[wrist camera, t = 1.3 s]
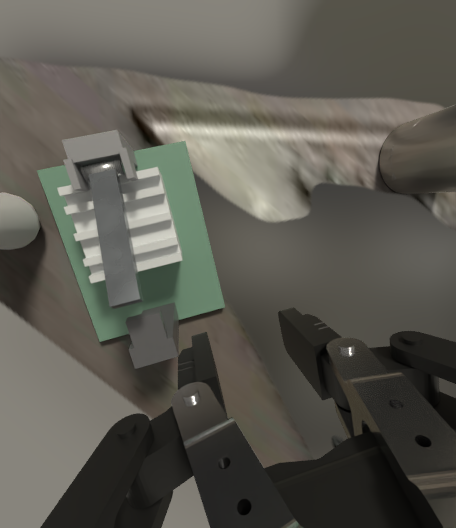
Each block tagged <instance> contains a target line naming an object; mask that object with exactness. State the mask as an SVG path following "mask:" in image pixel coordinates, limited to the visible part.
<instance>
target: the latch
mask: <svg viewBox="0 0 456 528" xmlns="http://www.w3.org/2000/svg"><path fill="white" fill-rule="evenodd" d="M125 323H126V325H127V328H128V331H129V334H130V337H131V340H132V341H131V344H130V347H129V353H130V356H131V358H132V361H133V364H134V367H135V369H137V368H140V367H144V366H147V365H151V364H154V363H158V362H161V361H164V360H168V359H171V358H175V357H178V338H179V316H178V313H177V309H176V306H175V302H174V303H170V304H166V305H162V306H159V307H155V308H151V309H147V310H144V311H142V313H141V314H139V315H135V316H132V317H128V318H127V320H126V322H125Z"/></svg>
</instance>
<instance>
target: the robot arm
mask: <svg viewBox="0 0 456 528" xmlns="http://www.w3.org/2000/svg"><path fill="white" fill-rule="evenodd" d="M380 171H381V175H382V177H383V180H384V181H385V183H386V184H387V186H388V187H390V188H391V189H392V190H393V191H395V192H397V193H401V194H419V193H440V192H456V105H454V106H451V107H448V108H446V109H443V110H440V111H437V112H435V113H432V114H429V115H426V116H424V117H421V118H418V119H416V120H413V121H410V122H407V123H405V124H403V125H400V126H399V127H397V128H396V129H395V130H393V131H392V132H391V134H390V135H389V136H388V137H387V139H386V140H385V142H384V144H383V147H382V150H381V154H380ZM278 316H279V322H280V327H281V332H282V337H283V342H284V345H285V348H286V351H287V353H288V354H289V355H290V357H291V358H292V360H293V361H294V362H295V364H296V365H297V366H298V368H299V369H300V370H301V372H302V373H303V374H304V376H305V377H306V379H307V380H308V381H309V383H310V384H311V385H312V387H313V388H314V389H315V391H316V392H317V393H318V395H319V396H320V397H321V399H322V400H325V399H328V398H331V397H332V398H333V399H334V401H335V408H336V412H337V414H338V417H339V419H340V421H341V424H342V426H343V428H344V430H345V433H346V435H347V437H348V439H346V440H345V441H344V442H342V443H341V444H339V445H338V446H337V447H335V448H334V449H332V450H331V451H330V452H328V453H327V454H325V455H324V456H323V457H321V458H319V459H317V460H308V461H297V462H286V463H278V464H275V465H272V466H269V467H267V468H263V466H262V464H261V463H260V461H259V459H258V458H257V456H256V454H255V453H254V451H253V449H252V448H251V446H250V445H249V443H248V441H247V440H246V438H245V436H244V435H243V433H242V431H241V430H240V428H239V426H238V425H237V423H236V422H235V420H234V419H233V418H232V417H231V418H229V419H228V417H227V413H226V408H225V404H224V399H223V395H222V391H221V386H220V382H219V378H218V373H217V369H216V365H215V361H214V358H213V354H212V350H211V346H210V342H209V339H208V335H207V332H205V333H201V334H198V335H194V336H192V346H193V347H191V348H187V349H184V350H182V352H181V353H180V355H179V357H178V391H177V392H176V393H175V394H174V395H173V397H172V400H171V404H172V406H171V407H170V408H169V409H168V410H167V411H166V412H164V413H163V414H161V415H160V416H158V417H156V418H154V419H153V420H151V421H150V420H149V418H148V417H147V416H146V415H144V414H133V415H130V416H127V417H125V418H123V419H121V420H120V421H118V422H117V423H116V424H115V425H114V426H112V428H111V429H110V430H109V431H108V432H107V434H106V435H105V437H104V438H103V440H102V441H101V442H100V444H99V445H98V447H97V448H96V449H95V451H94V452H93V454H92V455H91V457H90V458H89V459H88V461H87V462H86V464H85V465H84V467H83V468H82V469H81V471H80V472H79V474H78V475H77V476H76V478H75V479H74V481H73V482H72V484H71V485H70V486H69V488H68V489H67V491H66V492H65V493H64V495H63V496H62V498H61V499H60V500H59V502H58V503H57V505H56V506H55V508H54V509H53V510H52V512H51V513H50V515H49V516H48V517H47V519H46V520H45V522H44V523H43V525H42V526H41V528H161V527H162V524H163V521H164V518H165V515H166V513H167V510H168V507H169V504H170V502H171V498H172V494H173V490H174V489H175V488H177V487H178V486H179V485H181V484H182V483H184V482H185V481H187V480H188V479H189V478H191V477H192V476H194V478H195V481H196V484H197V487H198V490H199V493H200V497H201V500H202V503H203V506H204V510H205V513H206V516H207V519H208V522H209V525H210V528H456V398H454V397H451V396H449V395H447V394H444V393H442V392H440V391H439V378H442V379H445V380H447V381H450V382H452V383H455V384H456V342H453V341H449V340H446V339H442V338H439V337H435V336H432V335H428V334H424V333H420V332H415V331H404V332H398V333H396V334H393V335H392V336H391V338H390V346H389V347H377V348H368V347H367V345H366V344H365V343H364V342H362V341H360V340H358V339H355V338H346V337H345V338H342V337H341V336H340V335H338V334H337V333H336V332H335V331H333V330H332V329H331V328H330V327H328V326H327V325H326V324H325V323H323V322H322V321H321V320H320V319H318V318H317V317H315V316H312V315H309V314H305V315H302V314H301V313H300V312H299V311H297V310H296V309H295V308H289V309H286V310H282V311H279V312H278Z"/></svg>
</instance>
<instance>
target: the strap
mask: <svg viewBox="0 0 456 528" xmlns="http://www.w3.org/2000/svg"><path fill="white" fill-rule="evenodd" d="M81 172H82V175H83V178H84V180H85V181H86V182H87V183H89V182H90V186H91V192H92V198H93V205H94V211H95V217H96V224H97V230H98V236H99V243H100V249H101V256H102V262H103V268H104V275H105V281H106V287H107V294H108V300H109V306H110V307H111V308H113V309H116V308H120V307H124V306H127V305H131V304H135V303H139V302H142V301H143V296H142V291H141V286H140V281H139V275H138V270H137V265H136V260H135V255H134V250H133V245H132V239H131V234H130V229H129V224H128V219H127V214H126V208H125V203H124V198H123V193H122V188H121V183H120V178H119V176H122V175H125V171H124V167H123V164H122V162H121V160H120V158H119V159H114V160H109V161H104V162H99V163H94V164H89V165H84V166H81Z"/></svg>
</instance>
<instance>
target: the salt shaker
mask: <svg viewBox="0 0 456 528" xmlns="http://www.w3.org/2000/svg"><path fill="white" fill-rule="evenodd" d="M40 226H41V225H40V222H39V216H38V215H37V213H36V210H35V208H34V207H33V206H32V205H31V204H30V203H28V202H27V201H25V200H24V199H23V198H21V197H19V196H15V195H12V194H8V193H4V192H3V193H0V249H5V250H11V249H17V248H22V247H25V246H26V245H28V244H29V243H30V242H32V241H33V240H34V239H35V238H36V236H37V233H38V231H39V229H40Z"/></svg>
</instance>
